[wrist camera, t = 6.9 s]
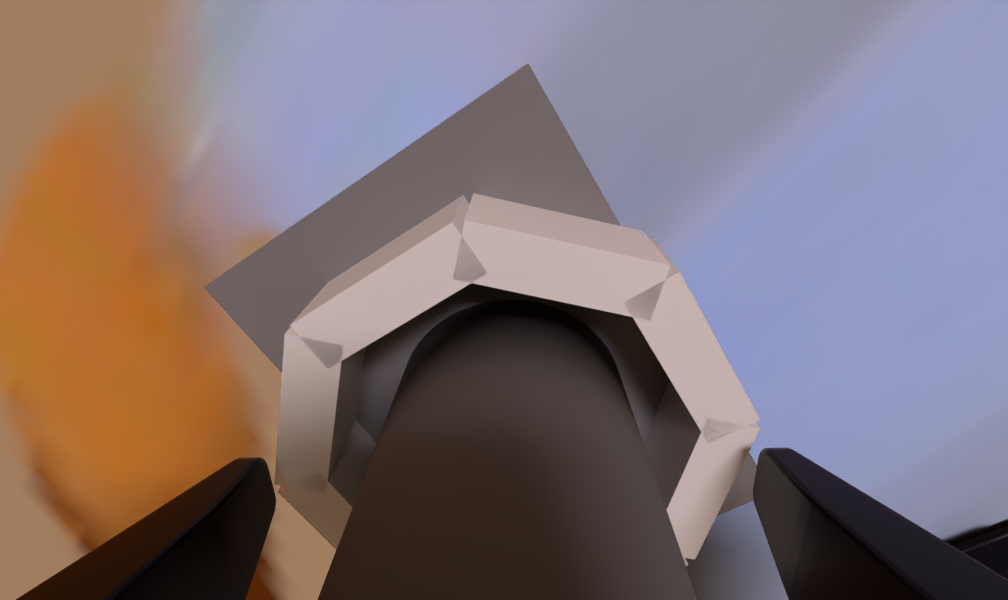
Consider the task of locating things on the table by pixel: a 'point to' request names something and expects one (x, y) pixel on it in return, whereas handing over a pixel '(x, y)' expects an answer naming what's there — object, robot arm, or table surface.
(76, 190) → the table surface
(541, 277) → the grey block with ring
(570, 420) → the grey cylinder plug
